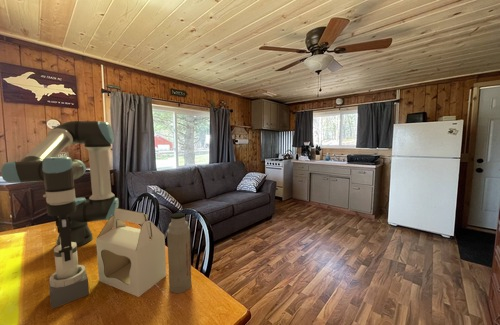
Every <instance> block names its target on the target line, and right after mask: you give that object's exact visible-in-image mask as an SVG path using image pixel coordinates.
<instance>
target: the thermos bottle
mask: <svg viewBox="0 0 500 325" xmlns="http://www.w3.org/2000/svg"><path fill="white" fill-rule="evenodd" d="M170 218H171V220H170V221H171V222H169V224H168V228H167V230H166V234H167V235H166V236H167V237H166V238H167V258H168V259H167V260H168V263H167V264H168V283H169V286H168V287H169V288H168V289H169V290H170V292H172V293H174V294H182V293H184V292H187V291H188V290H189V289H190V288H191V286H192V263H191V262H192V258H191V257H192V255H191V254H192V253H191V228H190V226H189V222H188V221H187V220H186V213H183V212H175V213H172V214H170Z"/></svg>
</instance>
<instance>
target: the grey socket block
mask: <svg viewBox="0 0 500 325" xmlns="http://www.w3.org/2000/svg"><path fill="white" fill-rule="evenodd" d="M78 267H79V273H78V274H77V275H75V276H73V277H70V278H67V279H63V280H57V275H56V271H55V272H54V273H52V274H51V275H50V276H49V277H48V278H49V282H48V284H49V301H50V302H49V303H50V308H51V310H53V309H56V308H58V307H61V306H64V305H65V304H68V303H71V302H73V301H76V300H78V299H81V298H84V297H86V296H89V295H90V288H89V278H88V274H87V271H86V267H85V265H83V264H78Z"/></svg>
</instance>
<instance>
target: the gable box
mask: <svg viewBox="0 0 500 325" xmlns="http://www.w3.org/2000/svg"><path fill="white" fill-rule="evenodd" d="M149 216H150V215H149V214H145V213H144V212H141V211H134V210H129V209H124V208H119V207H118V208H116V209H115V215H111V217H110V218H109V220H106V223H105V224H104V226H103V228H102V229H101V231H100V232H99V234H98V235H97V236H96V238H95V243H96V255H97V269H98V281H99V282H100V283H102V284H106V285H107V286H110V287H114V288H116V289H118V290H120V291H123V292H125V293H128V294H130V295H133V296H135V297H138V298H140V297H141V296H142V295H143V294H145V293H146V292H147V291H148V290H151V288H152V287H153V286H155V285H156V284H158V283H159V282H161V280H163V279H164V278H165V277H166V276H167V259H166V242H165V241H166V240H165V239H166V238H165V237H166V236H165V234H164V232H162V231H161V230H160V229H159V227H157V226H156V225H155V224H154V223H153V221H152V220H148V219H149ZM125 222H128V223H132V224H136V225H137V224H138V225H141V227H140V228H138V227H137V228H136V227H132V226H127V225H126V223H125Z"/></svg>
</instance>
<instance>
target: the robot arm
mask: <svg viewBox="0 0 500 325" xmlns="http://www.w3.org/2000/svg"><path fill="white" fill-rule="evenodd" d="M114 135H115V134H114V130H113V129H112V126H111V124H110V123H109V122H107V121H100V120H99V121H98V120H96V121H95V120H94V121H93V120H71V121H65V122H64V123H61V124H58V125H57V126H56V125H55V127H53V128H51V129H50V130H49V131H48V132H47V134H46V137H45V138H44V139H43V140H42V141H41V142H40V143H39V144H37V145H36V146H35V147H34V148H32V150H31V151H30V152H29V153H27V155H25V156H24V157H23V158H22V159H20V160H18V161H17V160H14V161H8V162H5V163H3V165H2V166H1V169H0V175H1V177H2V180H4V181H5V183H11V184H14V183H15V184H17V183H18V184H19V183H20V184H24V183H39V182H43V183H44V184H43V185H44V191H45V194H43V195H42V197H43V198H45V201H46V203H47V205H46V213H47V216H49V217H57V218H55V220H54V221H55V226H56V229H57V233H58V236H57V239H56V243H55V244H56V246H58V245H61V249H62V250H60V251H59V253H61V255H62V265H63V271H65V270H68V269H71V268H74V265H73V254H72V245H71V242H76V244H77V248H78V247H80V246H84V245H86V244H88V243H90V242H91V241H92V240H93V238H94V236H93V233H92V231H91V229H90V227H89V224H88V223H89V222H101V221H108V220H109V218H110V217H111V215H115V209H116V208H119V204H120V203H119V202H120V201H119V198H118V197H116V196H115V194H114V193H113V192H112V186H111V173H110V159H109V150H110V149H111V147H112V144H115V136H114ZM73 144H81V145H82V144H83V145H84V148H85V149H86V150H87V151H88V161H89V172H90V182H91V192H92V194H91V195H90V196H89V197H88V200H87V199H86V197H76V189H75V180H77V179H79V178H81V177H82V176H83V175H84V174H85V173H86V171H87V167H86V166H87V165H86V164H85V163H84V162H83V161H82V160H79V159H74V158H72V157H71V156H59V155H60V154H61V153H62V151H63V150H64V149H65V148H67V147H69V146H71V145H73ZM65 247H66V248H65Z"/></svg>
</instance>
